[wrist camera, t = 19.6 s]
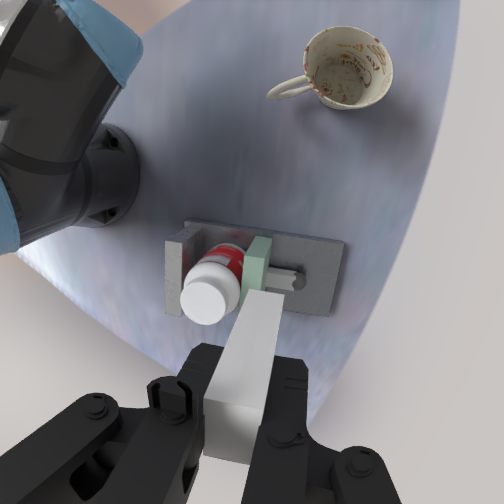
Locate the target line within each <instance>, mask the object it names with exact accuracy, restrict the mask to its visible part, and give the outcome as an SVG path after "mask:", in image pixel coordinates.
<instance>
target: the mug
mask: <svg viewBox="0 0 504 504" xmlns="http://www.w3.org/2000/svg"><path fill="white" fill-rule="evenodd" d="M303 67H304V72H305V75H302V76H299V77H296V78H293V79H290V80H288V81H285V82H283V83H281V84H279V85H277V86H275V87H274V88H272V89H271V90H270V91H269V92H268V93H267V98H268V99H269V100H280V99H284V98H289V97H293V96H296V95H299V94H301V93H304V92H306V91H308V90H311V89H313V91H314V92H315V94H316V96H317V97H318V98H319V100H320V101H321V102H322V103H324V104H325V105H326V106H328V107H330V108H333V109H338V110H346V109H359V108H364V107H368V106H370V105H373V104H375V103H376V102H378V101H379V100H381V99H382V98H383V97H384V96H385V95H386V93H387V92H388V90H389V89H390V87H391V84H392V80H393V64H392V60H391V58H390V55H389V53H388V51H387V50H386V48H385V47H384V46H383V44H382V43H381V42H380V41H379V40H378V39H377V38H375V37H374V36H373V35H371V34H370V33H368V32H366V31H364V30H361V29H359V28H355V27H350V26H335V27H330V28H327V29H325V30H323V31H321V32H319V33H318V34H317V35H315V36H314V37H313V38H312V39H311V41H310V42H309V43H308V45H307V47H306V49H305V53H304V58H303ZM306 82H309V84H310V85H309V86H304V87H301V88H297V89H293V90H288V91H285V92H282V91H284V90H286V89H288V88H291V87H294V86H296V85H300V84H303V83H306ZM281 92H282V93H281Z"/></svg>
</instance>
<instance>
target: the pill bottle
mask: <svg viewBox="0 0 504 504" xmlns="http://www.w3.org/2000/svg"><path fill="white" fill-rule="evenodd" d="M245 254H246V252H245V251H244V250H243V249H242V248H240V247H239V246H237V245H234V244H230V243H222V244H218V245H216V246H214V247H213V248H211V249H210V250H209V251H208V252H207V253H206V254H205V255H204V256H203V257H202V259H201V260H200V261H199V262H198V263H197V264H196V265H195V266H194V267H193V268H192V269H191V270H190V271H189V273H188V274H187V276H186V278H185V281H184V289H183V291H182V293H181V297H180V303H181V307H182V309H183V311H184V313H185V314H186V315H187V316H188V317H189V318H190V319H191V320H192V321H194V322H196V323H198V324H202V325H211V324H215V323H217V322H219V321H220V320H221V319H222V318H223V316H225V315H227V314H229V313H230V312H231V311H232V310H233V309H234V308H235V307H236V306H237V304H238V302H239V300H240V293H241V284H242V274H243V264H244V255H245Z"/></svg>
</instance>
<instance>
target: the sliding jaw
mask: <svg viewBox="0 0 504 504" xmlns="http://www.w3.org/2000/svg"><path fill="white" fill-rule="evenodd" d="M271 245H272V238H268V237H262V236H255V238H254V240H253V242H252V243H251V245H250V247H249V248H248V250H247V252H246V254H245V255H244V264H243V274H242V284H241V293H240V303H239V312H240V310H241V307H242V305H243V303H244V300H245V298H246V295H247V293H248V290H249V289H253V290H259V291H265V289H266V287H272V288H278V289H285V290H291V291H294V290H296V291H299V290H302V289H303V288H304V287H305V286H306V283H307V280H306V277H305V275H304V274H302V273H299V272H297V271H290V270H284V269H277V268H271V267H269V260H270V252H271ZM238 315H239V313H238Z"/></svg>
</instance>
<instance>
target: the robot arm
mask: <svg viewBox="0 0 504 504" xmlns="http://www.w3.org/2000/svg"><path fill="white" fill-rule="evenodd" d="M142 55H143V43H142V40H141V39H140V37H139V36H138V35H137V34H136V33H135V32H134V31H133V30H132V29H130V28H129V27H128V26H127V25H126V24H124V23H123V22H122V21H121V20H119V19H118V18H117V17H116V16H114V15H113V14H112V13H110V12H109V11H108V10H106V9H105V8H103V7H102V6H100V5H99V4H98V3H96V2H95V1H93V0H0V256H1V255H3V254H6V253H9V252H16V251H17V250H18V249H19V248H21V247H23V246H25V245H28V244H30V243H32V242H34V241H36V240H38V239H41V238H43V237H45V236H47V235H50V234H52V233H54V232H57V231H59V230H62V229H64V228H66V227H69V226H80V227H90V228H96V227H102V226H105V225H107V224H110V223H112V222H114V221H116V220H118V219H119V218H121V217H122V216H123V215H124V214H125V213H126V212H127V211H128V210H129V208H130V207H131V205H132V204H133V202H134V199H135V197H136V194H137V191H138V187H139V179H140V168H139V161H138V156H137V153H136V150H135V148H134V146H133V144H132V142H131V141H130V139H129V138H128V137H127V135H126V134H125V133H124V132H123V131H121V130H120V129H119V128H117V127H115V126H113V125H110V124H106V123H101V122H102V120H103V119H104V117H105V115H106V114H107V112H108V110H109V109H110V107H111V106H112V104H113V102H114V101H115V99H116V98H117V96H118V95H119V93H120V92H121V90H122V89H124V88H125V87H126V82H127V80H128V78H129V76H130V75H131V73H132V72H133V70H134V68H135V67H136V65H137V64H138V62H139V61H140V59H141V57H142ZM283 301H284V294H278V293H271V292H265V291H259V290H253V289H249V290H248V293H247V295H246V298H245V300H244V303H243V305H242V307H241V310H240V312H239V315H238V317H237V319H236V322H235V324H234V327H233V329H232V331H231V334H230V336H229V339H228V341H227V343H226V346H225V347H221V346H216V345H211V344H206V343H201V344H199V345H198V346H197V347H195V348H194V349H192V350H191V352H190V354H189V356H188V357H187V360H186V361H185V363H184V364H183V366H182V369H181V370H180V372H179V373H178V375H177V377H175V376H166V377H160V378H158V379H155V380H153V381H151V382H150V384H148V385H147V393H148V399H149V406H150V407H148V408H139V409H137V408H124V407H119V406H118V403H117V401H115V400H114V399H113V398H112V397H111V396H109V395H106V394H104V393H90V394H86V395H84V396H82V397H80V398H79V399H78V400H76V401H75V402H74V403H72V404H71V405H70V406H68V407H67V408H66V409H64V410H63V411H62V412H60V413H59V414H57V415H56V416H55V417H53V418H52V419H51V420H49V421H48V422H47V423H45V424H44V425H43V426H41V427H40V428H38V429H37V430H36V431H35V432H33V433H32V434H30V435H29V436H28V437H26V438H25V439H24V440H22V441H21V442H19V443H18V444H17V445H15V446H14V447H13V448H11V449H10V450H8V451H7V452H6V453H4V454H3V455H2V456H0V504H186V502H187V500H188V497H189V494H190V492H191V489H192V486H193V483H194V480H195V478H196V475H197V472H198V470H199V458H200V455H201V453H202V450H203V455H205V456H210V457H214V458H218V459H223V460H227V461H233V462H237V463H242V464H247V465H250V467H249V471H248V476H247V480H246V484H245V488H244V493H243V497H242V501H241V504H402V503H401V501H400V499H399V496H398V494H397V491H396V489H395V487H394V484H393V482H392V480H391V477H390V475H389V472H388V470H387V468H386V466H385V463H384V461H383V459H382V458H381V457H380V455H379V454H378V453H376V452H375V451H374V450H372V449H370V448H366V447H363V446H352V447H349V448H346V449H344V450H343V451H341V452H338V451H335V450H332V449H330V448H327V447H325V446H322V445H320V444H318V443H317V442H316V441H315V440H313V439H312V437H311V436H310V435H309V433H308V431H307V426H306V418H307V397H308V392H307V391H308V368H307V366H306V365H305V363H304V361H303V360H301V359H294V358H287V357H281V356H275V355H274V353H275V348H276V342H277V337H278V331H279V325H280V319H281V313H282V307H283Z"/></svg>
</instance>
